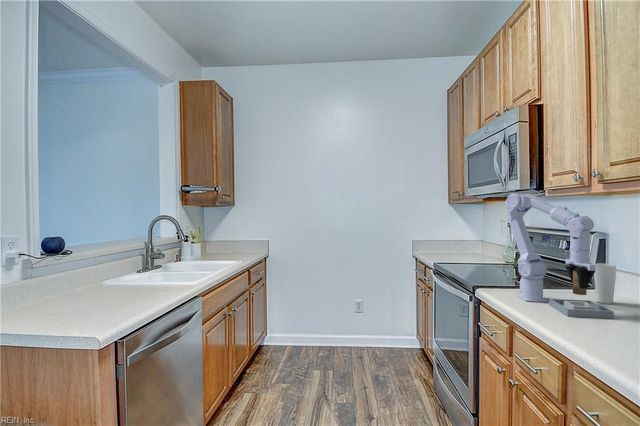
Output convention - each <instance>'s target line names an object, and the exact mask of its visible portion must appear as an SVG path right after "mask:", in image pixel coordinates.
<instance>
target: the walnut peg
mask: <svg viewBox="0 0 640 426" xmlns="http://www.w3.org/2000/svg"><path fill="white" fill-rule="evenodd" d="M587 290H588V288H587V289H581V288H580V287H579V280H578V275H577V273H576V271H573V285H572V294H573V295H578V296H579V295H580V296H587V292H588V291H587Z"/></svg>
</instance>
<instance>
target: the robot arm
mask: <svg viewBox="0 0 640 426" xmlns="http://www.w3.org/2000/svg"><path fill="white" fill-rule="evenodd" d="M504 203H505V207H506V210H507V211H506V217H507V221H508V223H509V227H510V229H511V232H512V235H513V239H514V242H515V244H516V246H517V250H518V253H519V255H520V256H519V258H518V260H517V264H518V269H517V270H518V273H519V275H520V277H521V278H520V280H519V293H518V294H517V296H518V297H519V298H521V299H522V300H523V301H525V302H533V303H534V302H535V303H536V302H537V303H539V302H540V303H548V300H546V299H545V298H543V297H544V294H543V293H544V278H545V275H547V272H548V267H547V264H546V263H545V262H544V261H543V259H542V257H541V256H540V255H539V254H537V253H536V251H535V248H534V246H533V243H532V240H531V238H530V234H529V232H528V229H527V226H526V223H525V221H524V216H525V215H526V213H527V212H529V211H530V210H531V209H532V208H534V209H536V210H539V211H540V212H543V213H545V214H547V215H549V216H550V218H551V220H553V221H554V222H556V223H558V224H560V225H562V226H563V227H566V228H567V230H568V231H569V236H570V238H569V241H570V243H569V244H570V245H569V255H570V256H569V258H565V269H566V271H567V273H568V275H569V278H570V281H571V285H572V286H573V271H576V273H577V275H578V280H579V287H580V288H581V289H587V290H588V288H589V284H590V281H591V278H592V277H593V276H594V273H595V271H596V265H594V264H595V263H594V264H593V263H592V262H591V261H590V260H591V254H590V253H591V231H592V230H593V229H594V225H595V224H594V220H593V219H592V218H591V217H589V216H588V215H580V213H579V212H574V211H571V210H569V209H568V207H567V206H563V205H562V206H554V205H552V204H550V203H548V202H546V201H544V200H543V199H541V198H539V197H538V196H536V195H532V194H531V193H511V194H509V195H508V196H507V198H506V200H505V202H504Z"/></svg>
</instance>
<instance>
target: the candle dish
mask: <svg viewBox="0 0 640 426" xmlns="http://www.w3.org/2000/svg"><path fill="white" fill-rule="evenodd" d="M548 301H549V303H548V306H550V307H551V308H552V309H555V310H556V311H557V312H559V313H561V314H562V315H564V316H566V317H570V318H589V319H592V318H593V319H612V320H613V319H615V318H614V314H615V311H613V310H611V309H609V308H607V307H605V306H604V305H600V303H598V302H597V303H596V302H594V301H593V300H590V299H589V300H587V299H586V300H585V299H566V298H565V299H561V298H559V299H558V298H549V300H548Z"/></svg>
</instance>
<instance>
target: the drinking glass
mask: <svg viewBox="0 0 640 426" xmlns="http://www.w3.org/2000/svg"><path fill="white" fill-rule="evenodd" d="M594 265H596V271H595V273H594V274H593V276H594V277H593V278H594V287H595V288H594V289H595V300H596V302H597V303H598V304H604V305H612V304H614V297H615V296H614V295H615V289H616V279H617V266H616V265H615V264H611V263H609V264H608V263H594Z"/></svg>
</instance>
